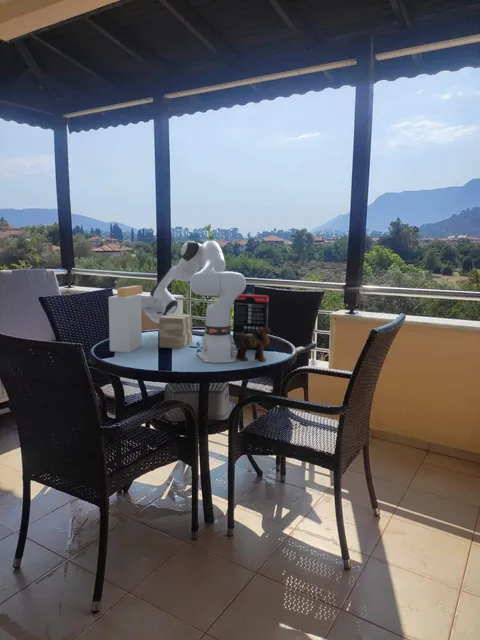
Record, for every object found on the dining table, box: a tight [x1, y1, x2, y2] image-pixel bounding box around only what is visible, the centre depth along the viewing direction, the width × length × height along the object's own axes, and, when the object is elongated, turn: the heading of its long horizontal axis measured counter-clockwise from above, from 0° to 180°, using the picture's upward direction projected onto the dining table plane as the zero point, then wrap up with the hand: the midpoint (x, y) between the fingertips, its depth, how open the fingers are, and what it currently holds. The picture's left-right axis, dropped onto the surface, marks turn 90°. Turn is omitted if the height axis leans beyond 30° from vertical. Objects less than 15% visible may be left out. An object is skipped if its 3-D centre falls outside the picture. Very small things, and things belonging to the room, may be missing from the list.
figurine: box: [236, 327, 271, 362], centre depth 197 cm, size 9×15×15 cm, turn 84°
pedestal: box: [158, 313, 193, 350], centre depth 226 cm, size 16×12×15 cm
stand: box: [108, 294, 143, 353], centre depth 213 cm, size 14×10×26 cm
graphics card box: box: [232, 293, 270, 351], centre depth 221 cm, size 17×7×27 cm, turn 76°
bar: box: [116, 285, 143, 297], centre depth 216 cm, size 19×4×4 cm, turn 168°
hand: (141, 296), depth 229 cm, fingers open, 8 cm apart
